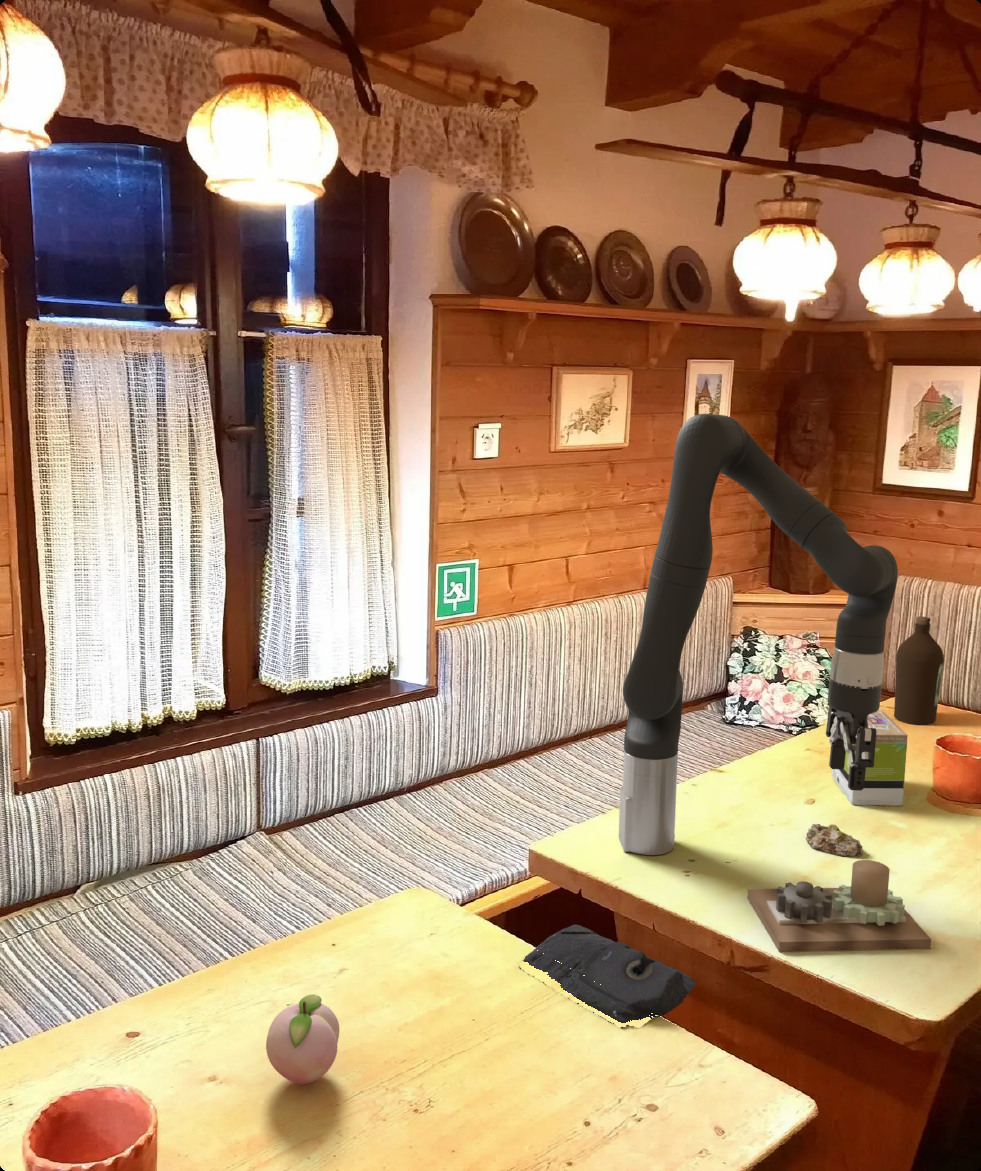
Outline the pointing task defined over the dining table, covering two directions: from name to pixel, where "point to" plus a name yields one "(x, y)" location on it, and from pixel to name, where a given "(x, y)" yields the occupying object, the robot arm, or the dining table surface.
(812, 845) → the mineral rock
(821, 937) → the carrier board
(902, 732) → the tea box
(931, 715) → the olive oil
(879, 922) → the planet gear
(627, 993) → the dark slate chunk
